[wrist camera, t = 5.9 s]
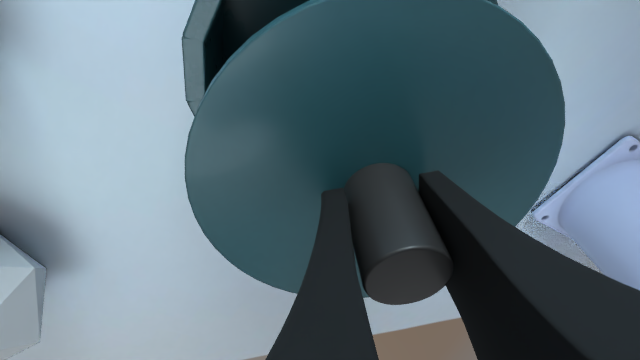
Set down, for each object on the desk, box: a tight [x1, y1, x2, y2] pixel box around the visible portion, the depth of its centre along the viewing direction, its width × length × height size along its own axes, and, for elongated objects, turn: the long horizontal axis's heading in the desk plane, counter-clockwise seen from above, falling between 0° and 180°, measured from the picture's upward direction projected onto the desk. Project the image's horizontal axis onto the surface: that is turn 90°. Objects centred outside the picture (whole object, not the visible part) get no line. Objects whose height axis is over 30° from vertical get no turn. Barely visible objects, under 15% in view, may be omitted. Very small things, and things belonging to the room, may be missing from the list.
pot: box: [182, 0, 498, 117], centre depth 15 cm, size 11×11×6 cm
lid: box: [185, 0, 565, 305], centre depth 11 cm, size 12×12×5 cm
